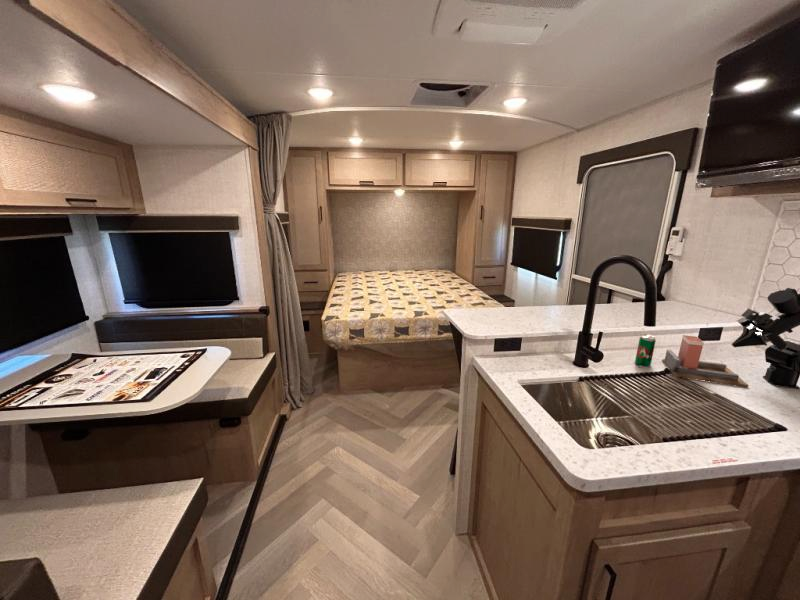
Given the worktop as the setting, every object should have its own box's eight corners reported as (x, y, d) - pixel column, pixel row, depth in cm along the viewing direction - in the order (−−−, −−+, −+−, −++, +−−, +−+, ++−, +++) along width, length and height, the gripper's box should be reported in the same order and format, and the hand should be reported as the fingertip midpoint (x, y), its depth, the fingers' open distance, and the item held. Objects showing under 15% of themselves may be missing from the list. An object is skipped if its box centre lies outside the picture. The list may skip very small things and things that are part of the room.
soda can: (645, 361, 128) (650, 334, 125) (653, 367, 123) (659, 339, 120) (631, 361, 128) (637, 333, 125) (639, 366, 124) (645, 338, 120)
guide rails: (723, 368, 119) (726, 356, 118) (737, 381, 110) (741, 368, 109) (664, 361, 126) (666, 349, 125) (673, 372, 117) (676, 359, 116)
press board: (726, 369, 120) (727, 367, 120) (747, 387, 108) (748, 385, 108) (662, 361, 128) (662, 358, 128) (675, 377, 116) (675, 374, 115)
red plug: (689, 365, 121) (696, 336, 118) (696, 372, 116) (704, 342, 113) (676, 363, 123) (682, 335, 120) (682, 370, 117) (689, 341, 114)
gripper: (751, 296, 114) (704, 321, 121) (785, 310, 98) (728, 337, 105) (775, 319, 113) (726, 343, 120) (813, 337, 97) (754, 363, 104)
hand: (732, 345), depth 112 cm, fingers closed
